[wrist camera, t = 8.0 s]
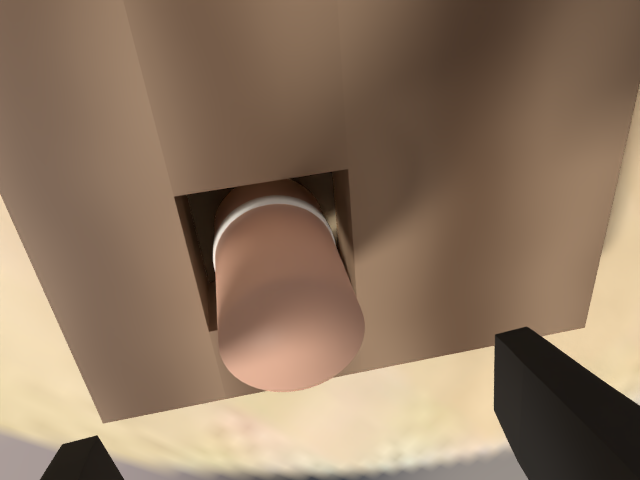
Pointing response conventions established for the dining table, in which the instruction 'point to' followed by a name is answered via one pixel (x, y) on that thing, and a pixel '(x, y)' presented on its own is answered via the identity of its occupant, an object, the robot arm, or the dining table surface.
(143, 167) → the board
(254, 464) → the dining table surface
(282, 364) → the peg
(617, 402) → the robot arm
